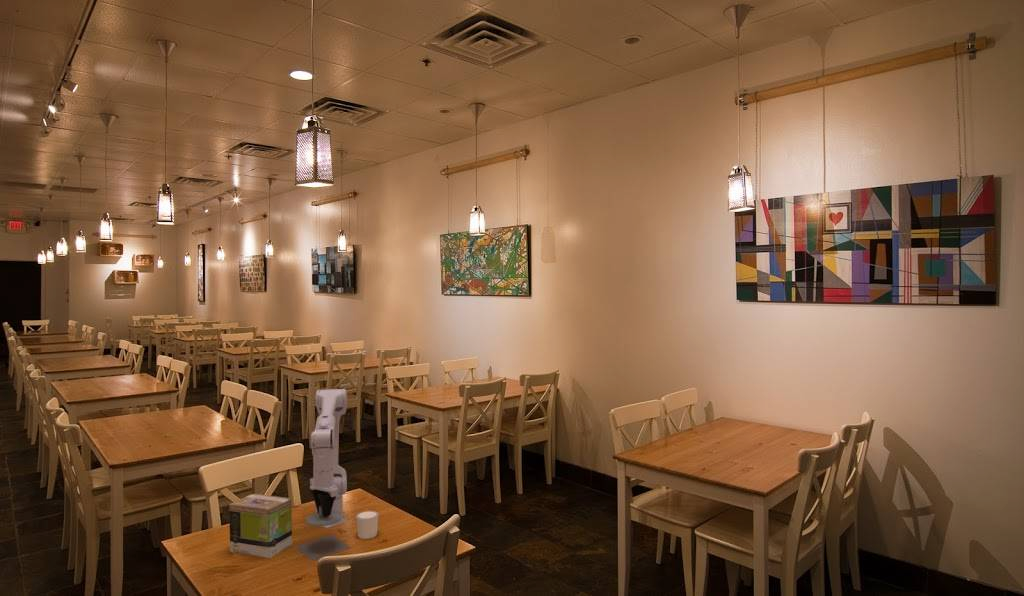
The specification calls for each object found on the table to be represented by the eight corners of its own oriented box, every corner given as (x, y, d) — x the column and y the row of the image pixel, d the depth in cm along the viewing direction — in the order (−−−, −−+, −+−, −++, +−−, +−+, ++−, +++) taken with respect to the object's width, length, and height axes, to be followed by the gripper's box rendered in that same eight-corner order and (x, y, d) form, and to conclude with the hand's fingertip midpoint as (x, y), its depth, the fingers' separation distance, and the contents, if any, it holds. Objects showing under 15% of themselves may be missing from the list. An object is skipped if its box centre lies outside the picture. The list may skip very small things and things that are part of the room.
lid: (300, 519, 172) (300, 506, 172) (331, 510, 179) (331, 497, 179) (315, 528, 165) (315, 515, 165) (347, 518, 172) (347, 505, 172)
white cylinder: (373, 542, 176) (372, 519, 176) (352, 540, 178) (352, 518, 178) (382, 532, 183) (382, 511, 183) (362, 531, 185) (362, 509, 184)
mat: (294, 549, 172) (294, 547, 172) (331, 536, 181) (331, 534, 181) (312, 562, 164) (312, 560, 164) (350, 549, 172) (350, 547, 172)
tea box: (293, 545, 175) (292, 497, 174) (269, 560, 165) (268, 509, 165) (254, 538, 180) (253, 491, 179) (228, 553, 170) (227, 503, 170)
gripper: (300, 466, 174) (300, 511, 175) (321, 478, 164) (322, 525, 164) (322, 461, 179) (322, 504, 180) (344, 472, 169) (345, 518, 169)
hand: (324, 514), depth 172 cm, fingers closed on lid, 3 cm apart
